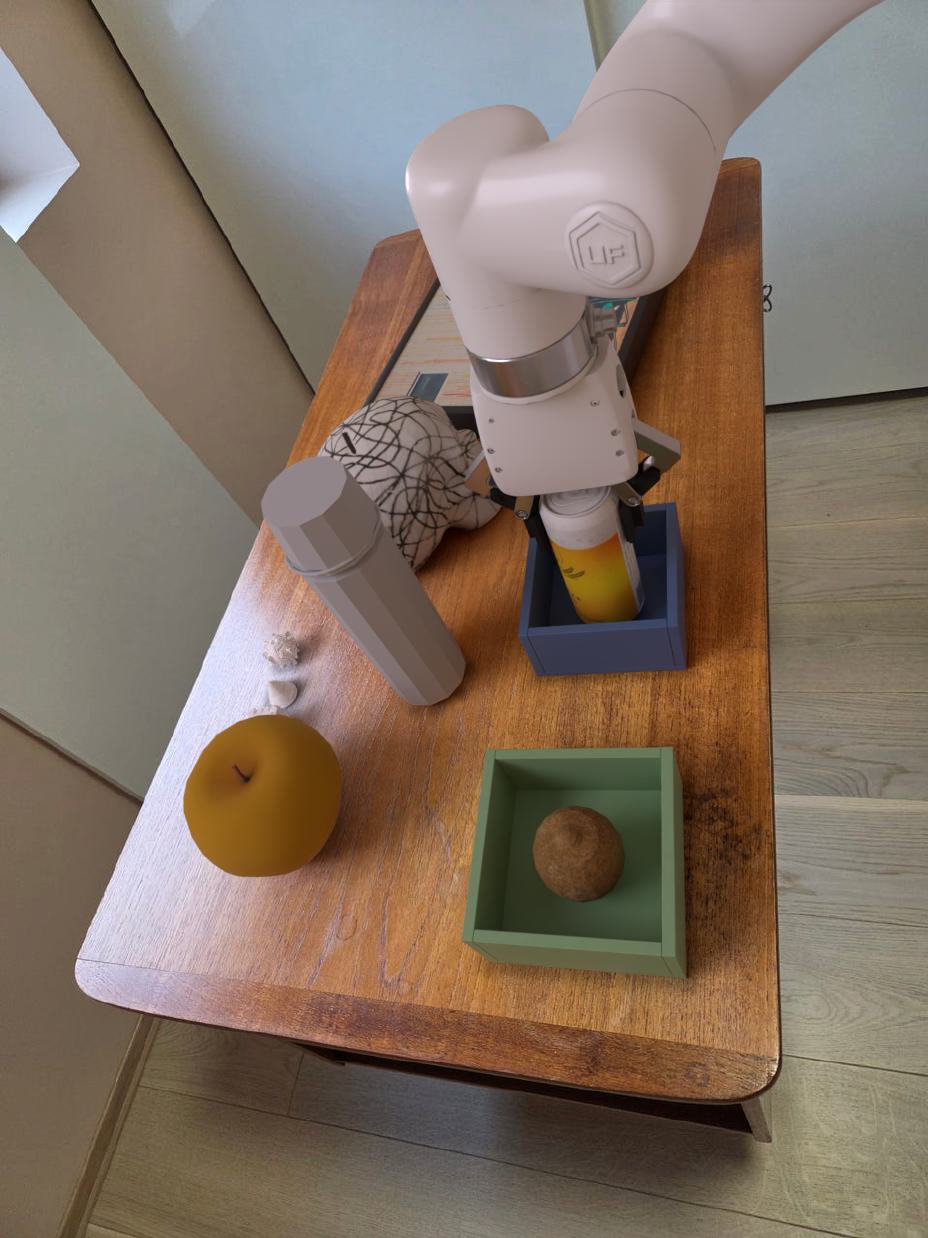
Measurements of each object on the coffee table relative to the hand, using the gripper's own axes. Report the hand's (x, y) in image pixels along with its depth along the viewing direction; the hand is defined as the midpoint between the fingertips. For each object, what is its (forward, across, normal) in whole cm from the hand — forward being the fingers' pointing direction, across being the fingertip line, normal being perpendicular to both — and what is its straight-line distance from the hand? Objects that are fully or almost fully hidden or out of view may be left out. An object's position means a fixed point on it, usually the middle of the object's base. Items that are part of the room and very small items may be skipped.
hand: (588, 532), depth 61 cm
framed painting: (+11, +12, -40) cm, 43 cm away
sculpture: (+11, +20, -12) cm, 26 cm away
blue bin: (+11, 0, 0) cm, 11 cm away
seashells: (+11, +32, +7) cm, 35 cm away
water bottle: (+11, +17, +5) cm, 21 cm away
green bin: (+11, +1, +23) cm, 26 cm away
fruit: (+11, +1, +23) cm, 26 cm away
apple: (+11, +26, +20) cm, 35 cm away
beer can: (+10, 0, 0) cm, 10 cm away
